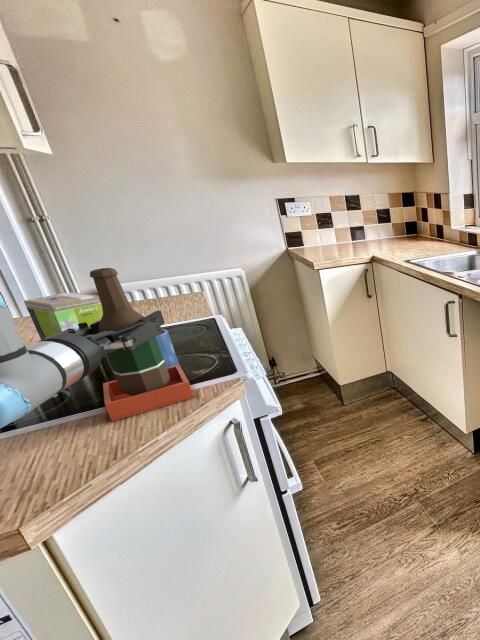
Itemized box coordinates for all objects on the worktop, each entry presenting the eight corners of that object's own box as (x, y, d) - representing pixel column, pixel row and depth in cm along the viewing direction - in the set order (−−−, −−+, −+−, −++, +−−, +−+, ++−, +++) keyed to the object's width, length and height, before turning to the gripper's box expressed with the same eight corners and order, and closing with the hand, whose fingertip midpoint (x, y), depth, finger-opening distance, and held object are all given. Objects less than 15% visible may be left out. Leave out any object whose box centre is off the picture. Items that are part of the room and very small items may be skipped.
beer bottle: (122, 387, 85) (74, 269, 77) (170, 375, 90) (130, 263, 81) (121, 400, 80) (69, 275, 71) (172, 387, 84) (129, 268, 76)
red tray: (109, 398, 86) (102, 383, 85) (184, 378, 94) (179, 364, 93) (112, 421, 78) (104, 404, 76) (194, 397, 86) (188, 381, 84)
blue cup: (141, 375, 96) (125, 335, 92) (178, 366, 100) (165, 327, 97) (144, 385, 91) (127, 342, 88) (183, 375, 96) (169, 334, 92)
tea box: (122, 348, 113) (101, 294, 108) (73, 362, 105) (48, 305, 99) (93, 341, 119) (72, 290, 114) (45, 353, 111) (20, 299, 105)
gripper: (-15, 394, 63) (86, 342, 84) (140, 376, 68) (200, 330, 88) (-40, 348, 60) (71, 306, 81) (123, 332, 65) (189, 296, 86)
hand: (138, 319), depth 85 cm, fingers closed on beer bottle, 7 cm apart
